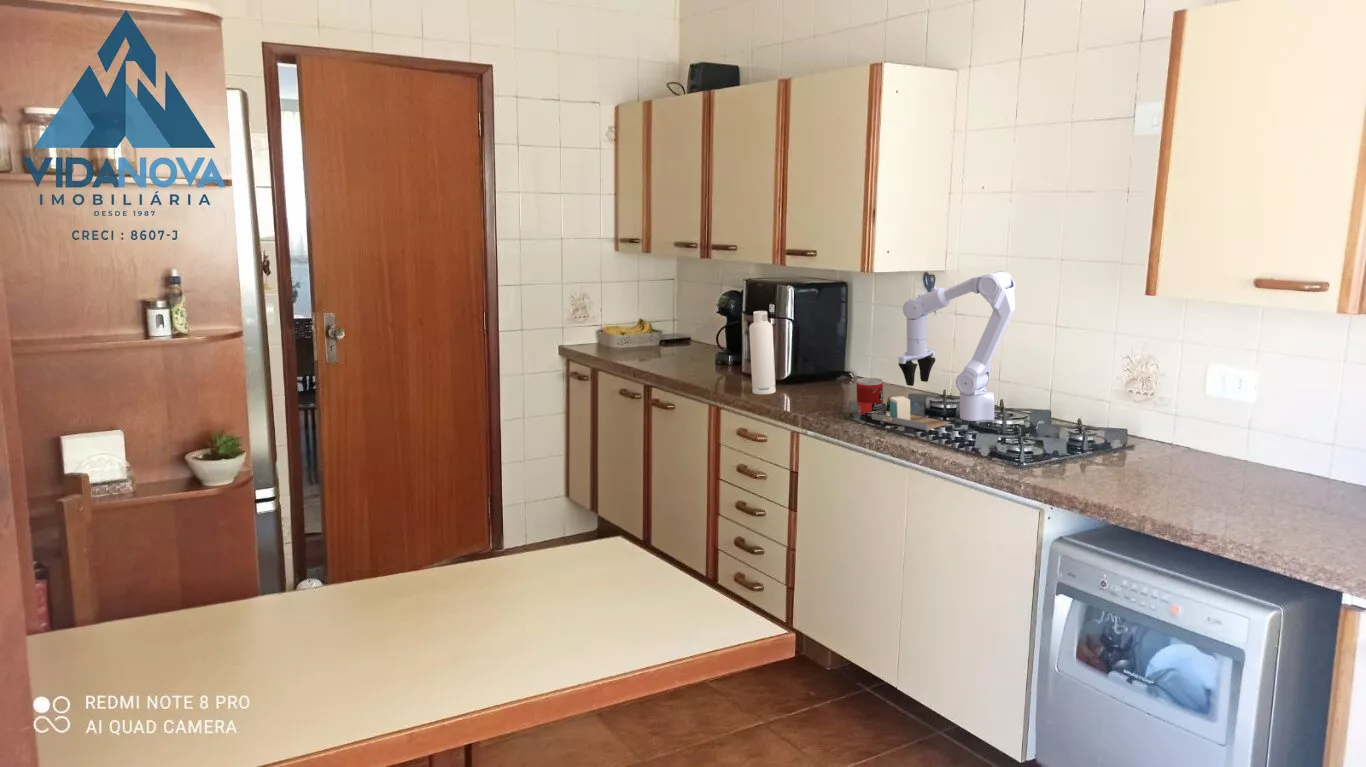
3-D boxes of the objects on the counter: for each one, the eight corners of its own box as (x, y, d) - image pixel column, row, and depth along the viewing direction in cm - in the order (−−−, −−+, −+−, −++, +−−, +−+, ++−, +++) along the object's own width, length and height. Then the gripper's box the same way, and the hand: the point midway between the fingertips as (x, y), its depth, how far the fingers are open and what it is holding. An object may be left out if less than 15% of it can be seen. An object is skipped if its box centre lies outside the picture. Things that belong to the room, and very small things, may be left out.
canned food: (876, 419, 282) (875, 384, 279) (852, 417, 287) (851, 381, 284) (887, 413, 288) (887, 378, 285) (864, 411, 292) (863, 376, 290)
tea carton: (910, 419, 274) (910, 399, 272) (896, 421, 273) (896, 401, 272) (902, 415, 279) (902, 396, 277) (889, 417, 278) (889, 397, 276)
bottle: (764, 395, 322) (760, 314, 316) (747, 392, 328) (743, 312, 322) (780, 390, 327) (777, 311, 321) (763, 388, 333) (759, 309, 327)
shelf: (951, 427, 268) (951, 416, 268) (926, 435, 262) (926, 424, 261) (896, 416, 284) (896, 405, 283) (871, 424, 278) (871, 413, 277)
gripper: (921, 333, 286) (922, 377, 289) (889, 341, 277) (890, 386, 280) (940, 335, 280) (941, 380, 283) (908, 343, 272) (909, 389, 275)
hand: (917, 383), depth 281 cm, fingers open, 6 cm apart
